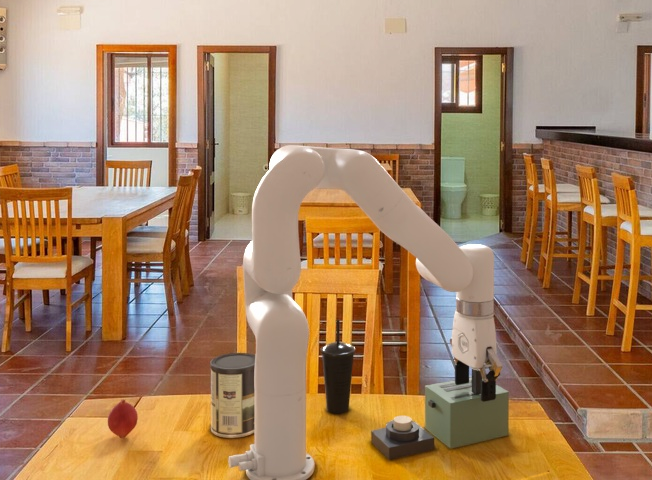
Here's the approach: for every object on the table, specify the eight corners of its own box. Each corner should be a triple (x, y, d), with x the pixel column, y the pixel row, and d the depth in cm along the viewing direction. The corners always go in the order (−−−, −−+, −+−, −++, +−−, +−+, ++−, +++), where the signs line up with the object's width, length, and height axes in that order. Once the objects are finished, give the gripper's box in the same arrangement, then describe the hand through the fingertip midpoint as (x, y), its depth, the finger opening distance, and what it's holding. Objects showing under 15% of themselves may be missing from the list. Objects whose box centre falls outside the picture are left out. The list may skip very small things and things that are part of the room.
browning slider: (475, 394, 143) (475, 371, 143) (471, 391, 144) (471, 368, 144) (482, 393, 143) (482, 369, 143) (478, 390, 145) (478, 367, 145)
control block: (389, 460, 134) (389, 439, 134) (371, 442, 142) (371, 422, 142) (434, 449, 138) (434, 429, 138) (414, 433, 146) (414, 413, 146)
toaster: (446, 449, 138) (446, 403, 138) (421, 429, 148) (421, 385, 147) (508, 435, 145) (508, 391, 145) (480, 416, 154) (480, 374, 154)
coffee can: (253, 413, 155) (253, 349, 155) (265, 433, 145) (265, 365, 145) (206, 421, 151) (206, 355, 151) (214, 442, 142) (214, 372, 141)
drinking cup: (351, 418, 152) (351, 326, 152) (316, 415, 154) (316, 324, 154) (358, 404, 160) (358, 316, 160) (325, 401, 161) (325, 314, 161)
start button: (398, 433, 138) (398, 424, 138) (390, 426, 141) (390, 417, 141) (414, 430, 139) (414, 421, 139) (406, 422, 142) (406, 414, 142)
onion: (101, 440, 142) (101, 400, 142) (123, 428, 148) (123, 390, 147) (122, 446, 140) (122, 406, 140) (143, 434, 145) (143, 396, 145)
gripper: (437, 298, 150) (436, 379, 150) (484, 320, 134) (483, 411, 134) (466, 294, 153) (466, 374, 153) (516, 315, 137) (516, 404, 137)
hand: (474, 391), depth 143 cm, fingers open, 8 cm apart
